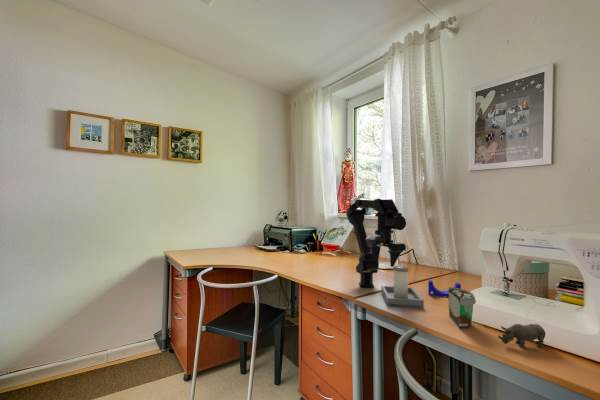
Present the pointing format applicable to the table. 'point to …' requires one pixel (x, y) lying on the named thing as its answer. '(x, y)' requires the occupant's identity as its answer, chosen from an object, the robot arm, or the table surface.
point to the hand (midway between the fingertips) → (383, 264)
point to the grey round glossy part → (400, 282)
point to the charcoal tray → (411, 302)
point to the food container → (461, 307)
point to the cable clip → (438, 292)
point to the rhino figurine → (524, 334)
